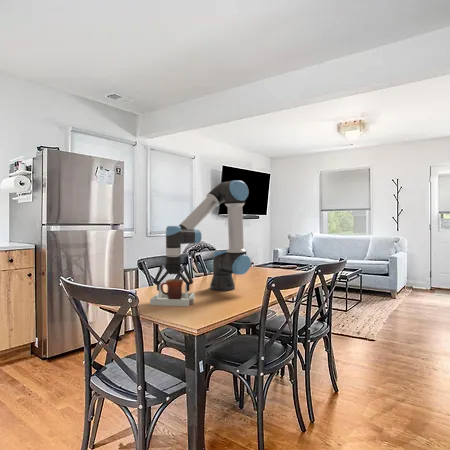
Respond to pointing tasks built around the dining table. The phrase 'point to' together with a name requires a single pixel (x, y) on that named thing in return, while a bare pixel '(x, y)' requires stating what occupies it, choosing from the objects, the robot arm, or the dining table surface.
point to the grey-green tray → (173, 300)
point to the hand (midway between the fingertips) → (173, 297)
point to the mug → (173, 288)
